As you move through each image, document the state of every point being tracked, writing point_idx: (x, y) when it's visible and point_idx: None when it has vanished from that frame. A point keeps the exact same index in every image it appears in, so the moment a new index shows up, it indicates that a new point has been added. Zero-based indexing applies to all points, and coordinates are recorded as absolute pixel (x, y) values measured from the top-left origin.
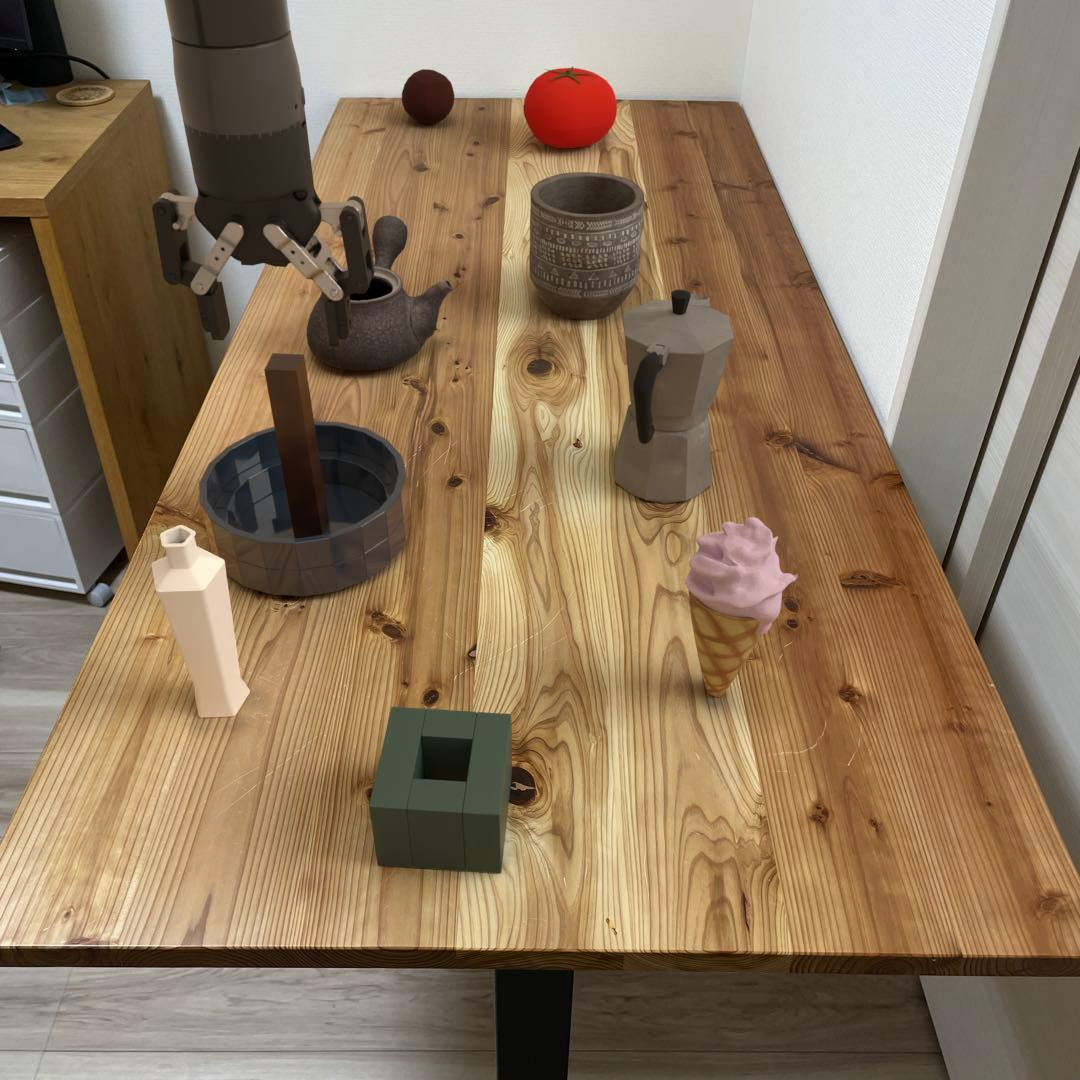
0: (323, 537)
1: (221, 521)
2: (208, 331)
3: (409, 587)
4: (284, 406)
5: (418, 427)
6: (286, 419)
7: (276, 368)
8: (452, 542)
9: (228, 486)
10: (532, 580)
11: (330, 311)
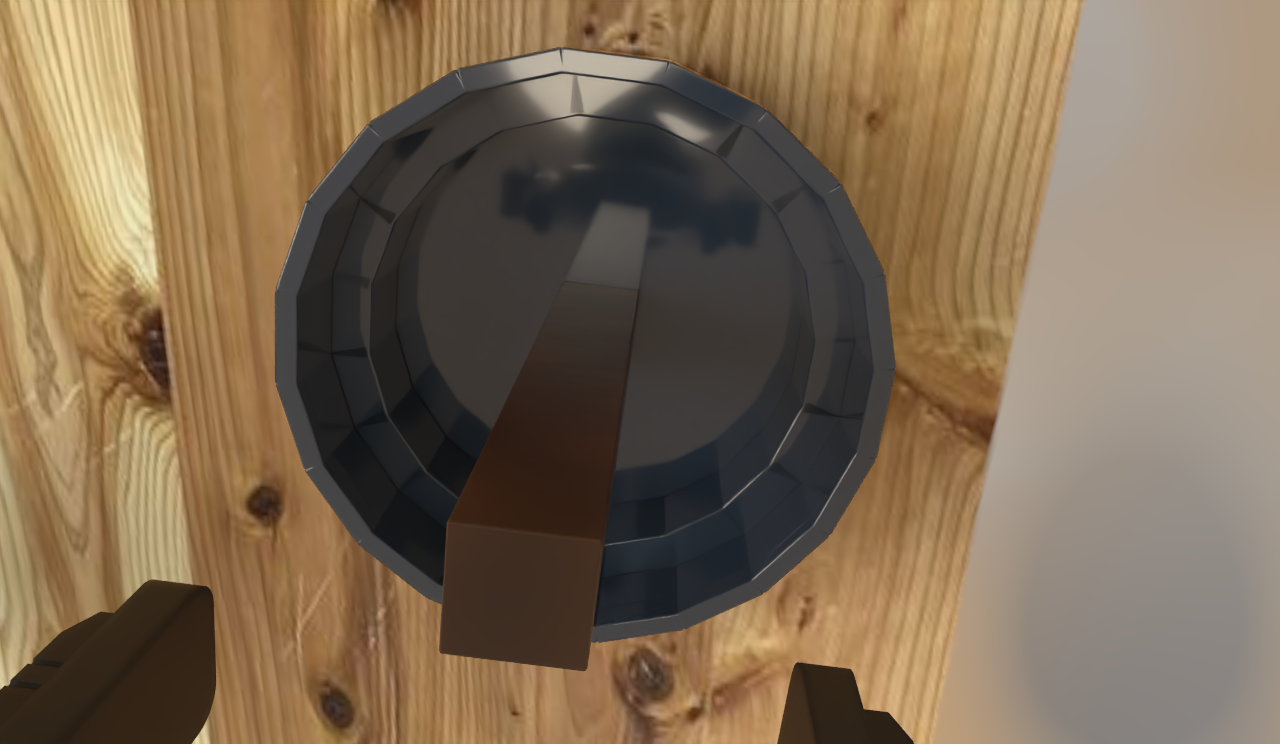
0: (475, 75)
1: (805, 170)
2: (874, 713)
3: (320, 97)
4: (556, 449)
5: (386, 714)
6: (565, 427)
7: (544, 547)
8: (236, 271)
9: (822, 434)
10: (8, 111)
11: (47, 718)
